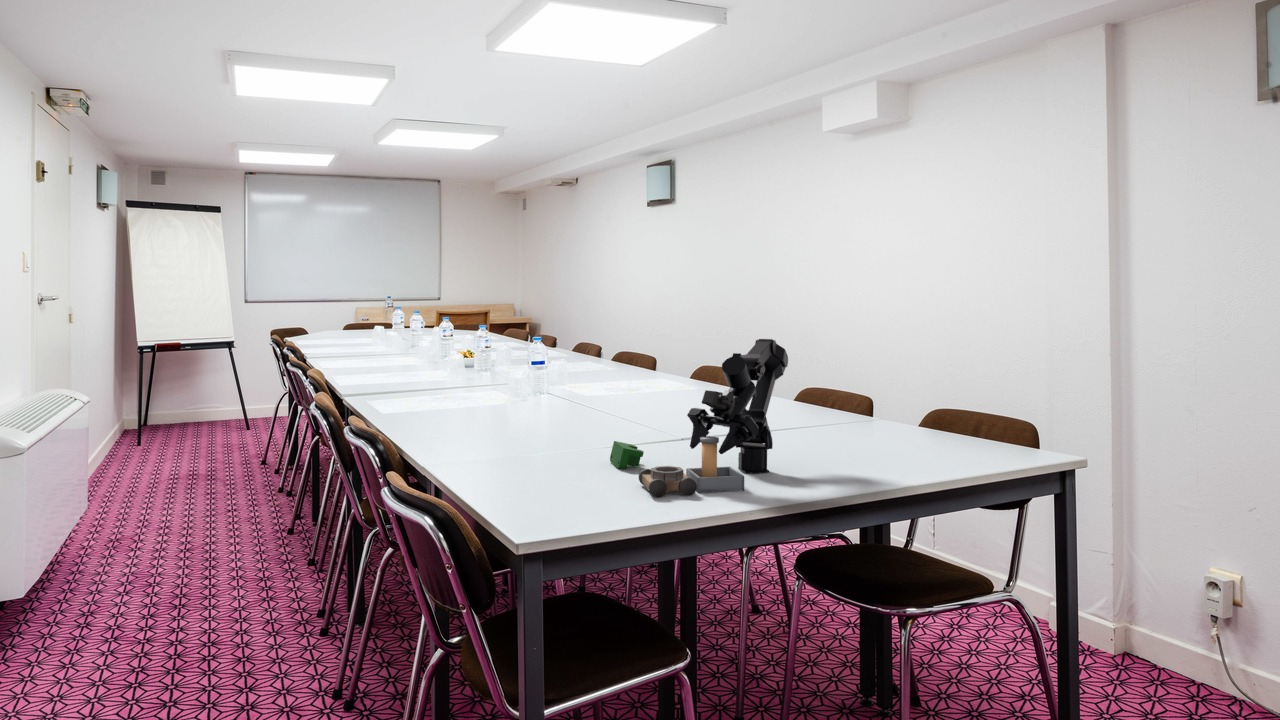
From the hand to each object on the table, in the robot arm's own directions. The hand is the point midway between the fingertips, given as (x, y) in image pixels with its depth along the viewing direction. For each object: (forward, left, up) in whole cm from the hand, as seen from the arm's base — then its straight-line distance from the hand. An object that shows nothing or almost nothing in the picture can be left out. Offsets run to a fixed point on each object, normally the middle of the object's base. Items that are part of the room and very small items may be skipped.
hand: (705, 450), depth 193 cm
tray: (-3, -1, -9) cm, 10 cm away
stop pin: (-1, -1, -8) cm, 8 cm away
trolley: (+9, 0, -9) cm, 13 cm away
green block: (+13, -30, -9) cm, 34 cm away
